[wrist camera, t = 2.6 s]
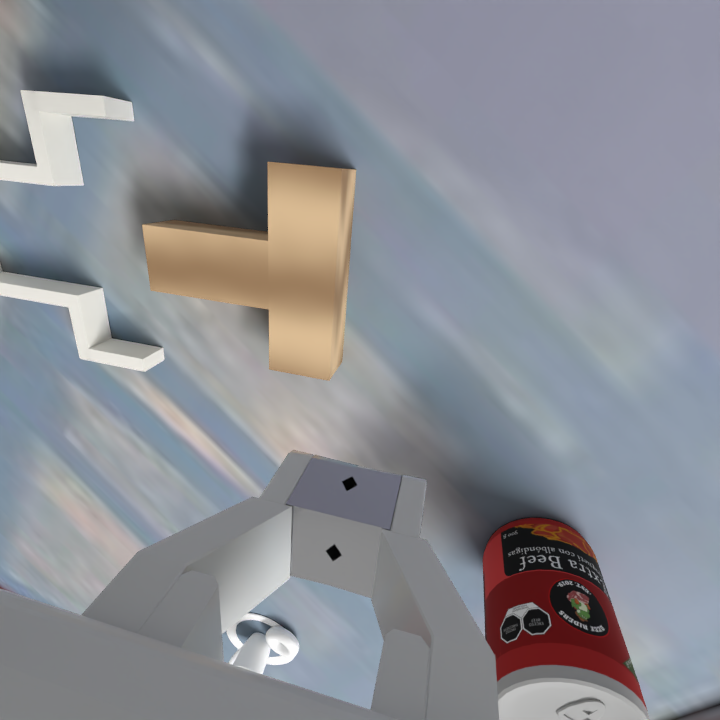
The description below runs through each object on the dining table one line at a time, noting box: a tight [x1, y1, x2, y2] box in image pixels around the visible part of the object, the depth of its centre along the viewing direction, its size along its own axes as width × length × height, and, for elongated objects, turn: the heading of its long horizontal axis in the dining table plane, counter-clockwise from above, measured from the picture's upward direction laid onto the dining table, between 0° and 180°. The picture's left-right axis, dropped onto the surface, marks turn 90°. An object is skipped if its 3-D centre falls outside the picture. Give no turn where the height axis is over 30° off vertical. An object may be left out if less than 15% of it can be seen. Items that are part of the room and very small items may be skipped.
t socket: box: [0, 90, 165, 372], centre depth 29 cm, size 17×14×2 cm
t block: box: [142, 162, 356, 381], centre depth 26 cm, size 12×12×3 cm
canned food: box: [483, 518, 650, 720], centre depth 26 cm, size 8×8×11 cm
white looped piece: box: [226, 613, 299, 674], centre depth 42 cm, size 9×8×4 cm
